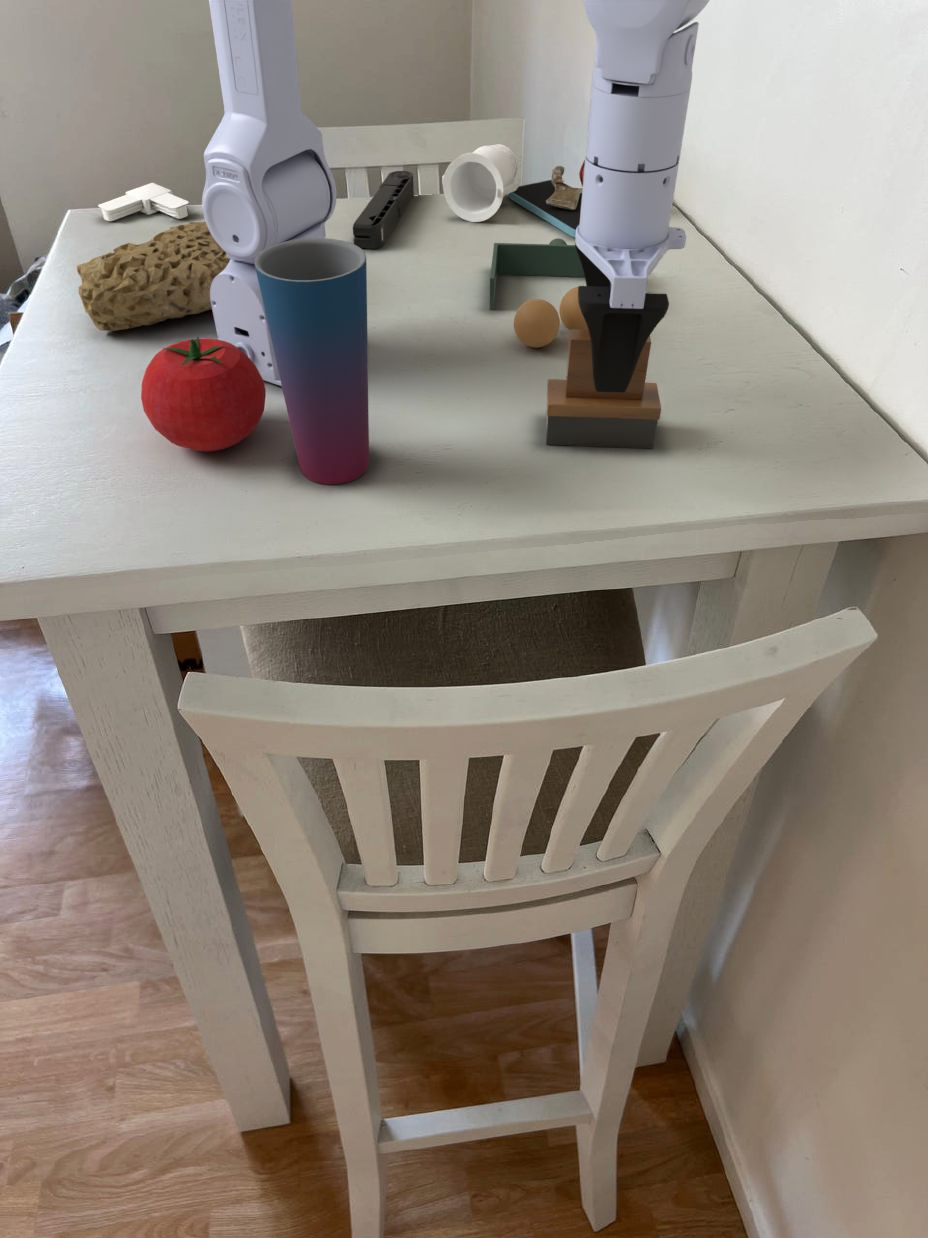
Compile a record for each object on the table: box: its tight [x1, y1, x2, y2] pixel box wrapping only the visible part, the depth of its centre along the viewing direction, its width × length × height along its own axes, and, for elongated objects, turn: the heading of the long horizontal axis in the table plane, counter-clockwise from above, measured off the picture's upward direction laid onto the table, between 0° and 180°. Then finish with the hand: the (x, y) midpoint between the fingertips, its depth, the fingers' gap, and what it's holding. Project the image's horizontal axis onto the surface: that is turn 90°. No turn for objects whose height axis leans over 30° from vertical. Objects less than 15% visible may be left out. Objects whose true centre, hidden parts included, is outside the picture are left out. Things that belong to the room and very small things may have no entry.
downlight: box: [441, 143, 520, 223], centre depth 101 cm, size 8×7×10 cm
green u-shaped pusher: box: [489, 237, 585, 311], centre depth 86 cm, size 12×13×3 cm
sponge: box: [76, 221, 230, 332], centre depth 82 cm, size 13×8×20 cm
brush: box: [545, 329, 662, 449], centre depth 65 cm, size 4×8×8 cm, turn 86°
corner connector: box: [97, 182, 190, 222], centre depth 101 cm, size 8×8×2 cm
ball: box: [558, 285, 588, 331], centre depth 79 cm, size 4×4×4 cm
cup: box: [255, 237, 370, 485], centre depth 60 cm, size 7×7×15 cm
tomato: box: [140, 336, 267, 452], centre depth 65 cm, size 9×9×8 cm
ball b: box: [513, 298, 561, 349], centre depth 77 cm, size 4×4×4 cm
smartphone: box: [508, 179, 582, 239], centre depth 102 cm, size 7×1×15 cm
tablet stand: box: [352, 170, 415, 249], centre depth 100 cm, size 18×3×3 cm
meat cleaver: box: [546, 165, 582, 210], centre depth 103 cm, size 12×1×5 cm
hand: (607, 362), depth 64 cm, fingers open, 7 cm apart
